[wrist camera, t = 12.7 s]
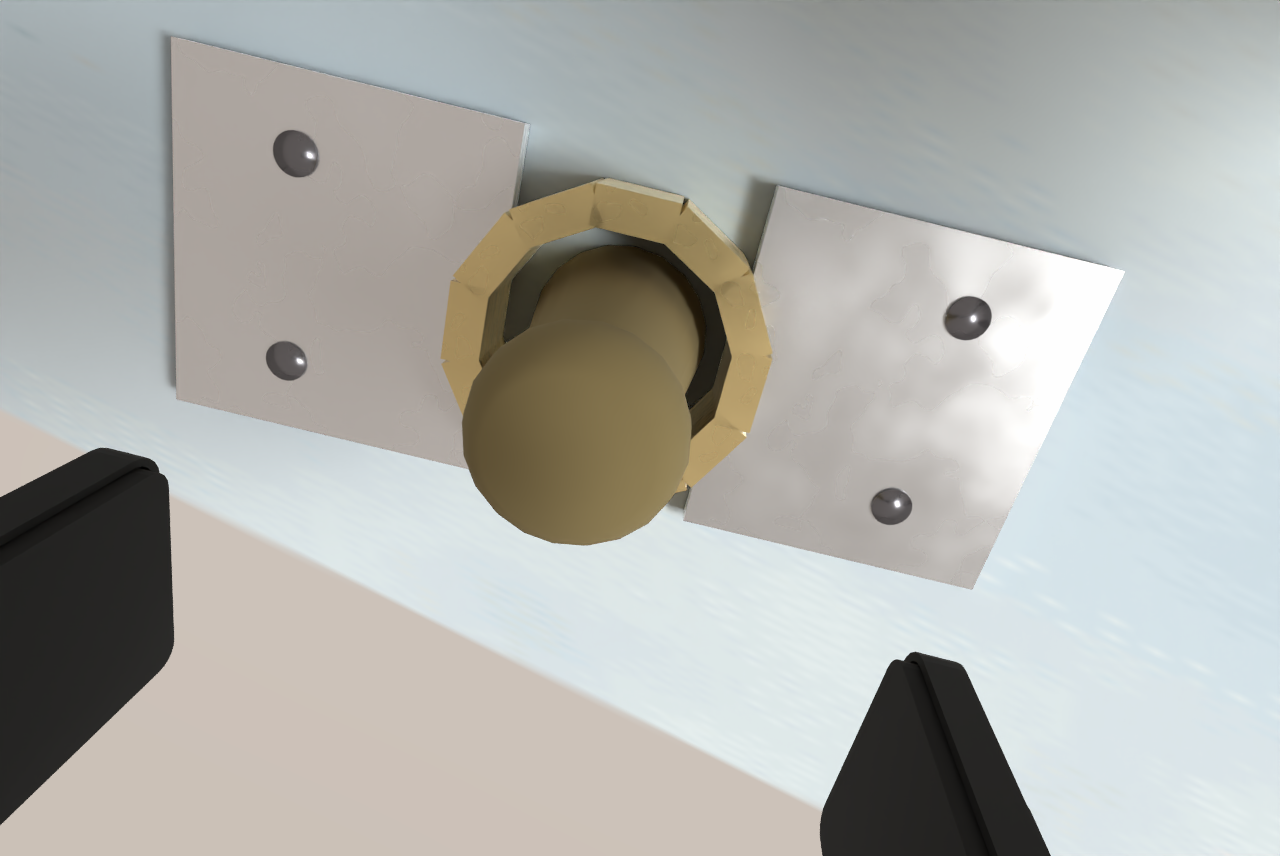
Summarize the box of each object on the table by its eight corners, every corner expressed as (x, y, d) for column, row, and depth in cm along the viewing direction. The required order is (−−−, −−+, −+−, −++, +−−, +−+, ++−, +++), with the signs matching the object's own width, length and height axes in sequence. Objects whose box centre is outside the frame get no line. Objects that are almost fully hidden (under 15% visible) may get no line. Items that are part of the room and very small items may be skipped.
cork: (504, 362, 26) (378, 507, 16) (583, 210, 24) (496, 262, 14) (650, 444, 27) (621, 632, 17) (740, 303, 25) (769, 418, 14)
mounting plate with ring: (188, 39, 23) (117, 25, 20) (1111, 267, 23) (1166, 284, 20) (190, 392, 27) (132, 420, 25) (964, 577, 28) (994, 626, 25)
